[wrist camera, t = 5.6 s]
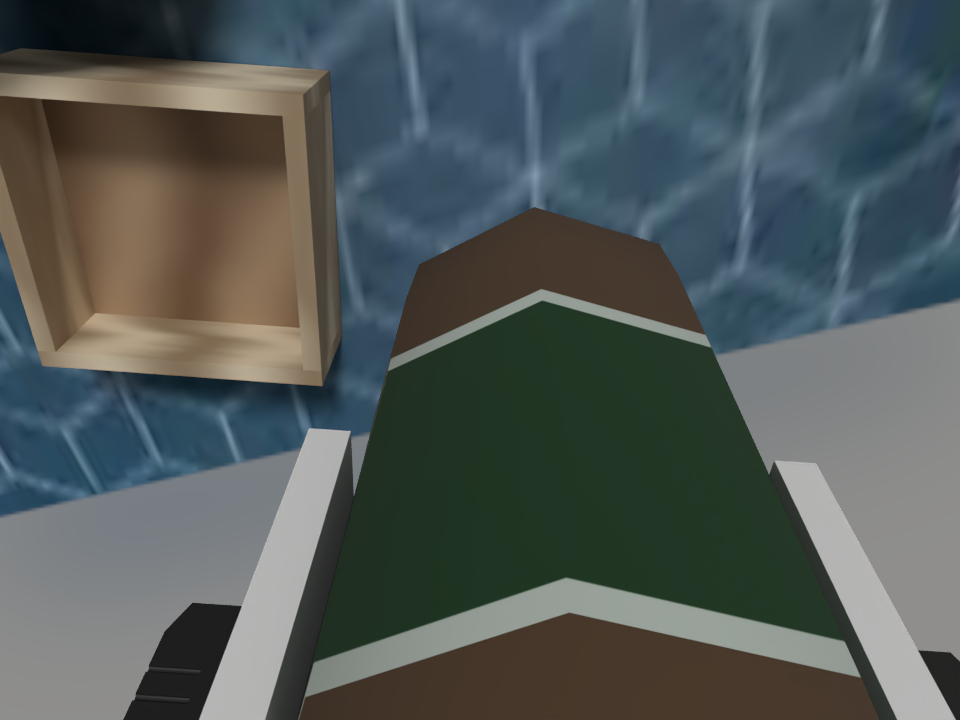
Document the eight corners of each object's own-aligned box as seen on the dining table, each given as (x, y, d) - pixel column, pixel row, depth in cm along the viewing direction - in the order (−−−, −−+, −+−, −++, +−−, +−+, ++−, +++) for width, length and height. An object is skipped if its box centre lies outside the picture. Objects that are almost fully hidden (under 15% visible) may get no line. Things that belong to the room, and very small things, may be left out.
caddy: (90, 318, 36) (42, 365, 33) (20, 48, 30) (-50, 69, 26) (342, 336, 36) (322, 386, 33) (329, 70, 30) (302, 94, 26)
